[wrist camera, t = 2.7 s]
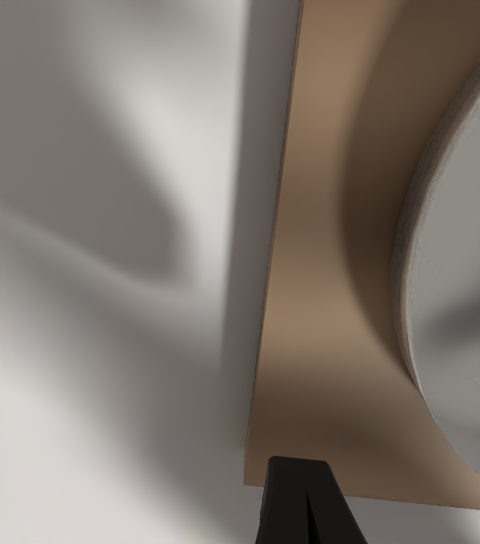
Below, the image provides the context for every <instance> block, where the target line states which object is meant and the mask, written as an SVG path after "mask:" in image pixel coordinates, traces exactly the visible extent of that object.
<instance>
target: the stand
mask: <svg viewBox="0 0 480 544" xmlns="http://www.w3.org/2000/svg"><path fill="white" fill-rule="evenodd" d="M479 61H480V0H300V8H299V17H298V25H297V33H296V41H295V49H294V57H293V66H292V74H291V82H290V90H289V98H288V106H287V114H286V123H285V131H284V139H283V147H282V155H281V163H280V172H279V180H278V188H277V196H276V204H275V212H274V220H273V229H272V237H271V245H270V253H269V261H268V269H267V278H266V286H265V294H264V302H263V310H262V318H261V326H260V335H259V343H258V351H257V359H256V367H255V375H254V384H253V392H252V400H251V408H250V416H249V424H248V432H247V441H246V449H245V466H244V485H251V486H261V487H264V485H265V478H266V472H267V465H268V459H269V458H271V457H272V456H283V457H293V458H302V459H312V460H322V461H326V462H327V463H328V464H329V465H330V468H331V470H332V472H333V475H334V477H335V479H336V481H337V484H338V486H339V488H340V490H341V492H342V494H343V495H345V496H355V497H364V498H374V499H383V500H392V501H402V502H411V503H421V504H430V505H439V506H449V507H458V508H468V509H477V510H480V476H479V475H478V474H477V473H476V472H475V471H474V470H473V469H472V468H471V467H470V466H469V465H468V464H467V463H466V462H465V461H464V460H463V459H462V458H461V457H460V456H459V455H458V454H457V453H456V452H455V450H454V449H453V447H452V446H451V444H450V443H449V442H448V440H447V439H446V437H445V436H444V434H443V433H442V431H441V430H440V429H439V427H438V425H437V424H436V422H435V420H434V418H433V416H432V415H431V413H430V411H429V409H428V407H427V405H426V404H425V402H424V400H423V398H422V396H421V394H420V393H419V391H418V389H417V387H416V385H415V383H414V381H413V379H412V377H411V375H410V373H409V371H408V368H407V366H406V364H405V362H404V360H403V357H402V354H401V350H400V347H399V343H398V340H397V336H396V333H395V329H394V322H393V314H392V306H391V297H390V288H391V259H392V253H393V247H394V241H395V236H396V230H397V224H398V219H399V216H400V213H401V210H402V206H403V203H404V200H405V197H406V194H407V190H408V187H409V184H410V181H411V178H412V176H413V173H414V171H415V169H416V167H417V165H418V162H419V160H420V158H421V156H422V154H423V151H424V149H425V147H426V145H427V142H428V140H429V138H430V136H431V134H432V132H433V131H434V129H435V127H436V125H437V124H438V122H439V120H440V119H441V117H442V115H443V114H444V112H445V110H446V109H447V107H448V105H449V104H450V102H451V100H452V99H453V97H454V95H455V94H456V92H457V90H458V89H459V87H460V86H461V85H462V83H463V82H464V81H465V79H466V78H467V77H468V75H469V74H470V73H471V71H472V70H473V69H474V67H475V66H476V65H477V63H478V62H479Z"/></svg>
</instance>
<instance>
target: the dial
mask: <svg viewBox="0 0 480 544" xmlns="http://www.w3.org/2000/svg"><path fill="white" fill-rule="evenodd" d="M390 297H391V306H392V314H393V322H394V329H395V333H396V336H397V340H398V343H399V347H400V350H401V354H402V357H403V360H404V362H405V364H406V366H407V368H408V371H409V373H410V375H411V377H412V379H413V381H414V383H415V385H416V387H417V389H418V391H419V393H420V394H421V396H422V398H423V400H424V402H425V404H426V405H427V407H428V409H429V411H430V413H431V415H432V416H433V418H434V420H435V422H436V424H437V425H438V427H439V429H440V430H441V431H442V433H443V434H444V436H445V437H446V439H447V440H448V442H449V443H450V444H451V446H452V447H453V449H454V450H455V452H456V453H457V454H458V455H459V456H460V457H461V458H462V459H463V460H464V461H465V462H466V463H467V464H468V465H469V466H470V467H471V468H472V469H473V470H474V471H475V472H476V473H477V474H478V475H479V476H480V61H479V62H478V63H477V65H476V66H475V67H474V69H473V70H472V71H471V73H470V74H469V75H468V77H467V78H466V79H465V81H464V82H463V83H462V85H461V86H460V87H459V89H458V90H457V92H456V94H455V95H454V97H453V99H452V100H451V102H450V104H449V105H448V107H447V109H446V110H445V112H444V114H443V115H442V117H441V119H440V120H439V122H438V124H437V125H436V127H435V129H434V131H433V132H432V134H431V136H430V138H429V140H428V142H427V145H426V147H425V149H424V151H423V154H422V156H421V158H420V160H419V162H418V165H417V167H416V169H415V171H414V173H413V176H412V178H411V181H410V184H409V187H408V190H407V194H406V197H405V200H404V203H403V206H402V210H401V213H400V216H399V219H398V224H397V230H396V236H395V241H394V247H393V253H392V259H391V288H390Z"/></svg>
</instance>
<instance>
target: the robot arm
mask: <svg viewBox="0 0 480 544" xmlns="http://www.w3.org/2000/svg"><path fill="white" fill-rule="evenodd" d="M255 544H368V543H367V542H366V540H365V538H364V536H363V534H362V532H361V530H360V529H359V527H358V525H357V523H356V521H355V519H354V517H353V515H352V513H351V511H350V509H349V507H348V505H347V503H346V501H345V499H344V496H343V494H342V492H341V490H340V488H339V486H338V484H337V481H336V479H335V477H334V475H333V472H332V470H331V468H330V465H329V464H328V463H327V462H326V461H322V460H312V459H302V458H293V457H283V456H272V457H271V458H269V459H268V465H267V472H266V478H265V485H264V491H263V498H262V505H261V511H260V526H259V530H258V534H257V538H256V542H255Z"/></svg>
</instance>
